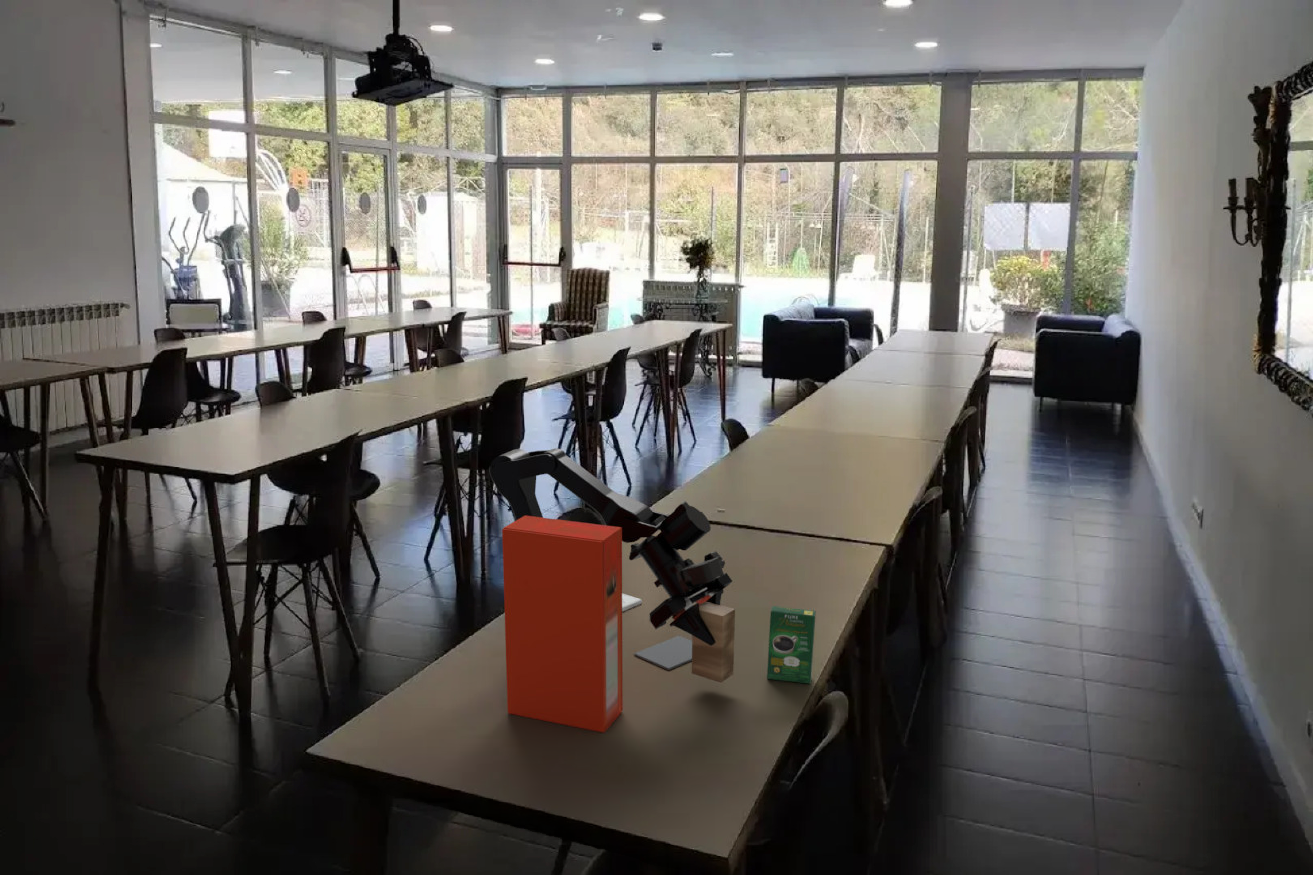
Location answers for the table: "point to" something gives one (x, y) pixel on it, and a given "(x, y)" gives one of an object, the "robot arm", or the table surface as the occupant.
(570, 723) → the file binder
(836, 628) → the table surface
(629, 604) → the external hard drive
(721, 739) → the table surface
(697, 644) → the tall wooden block tower
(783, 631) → the coffee box
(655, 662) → the mat
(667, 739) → the table surface
